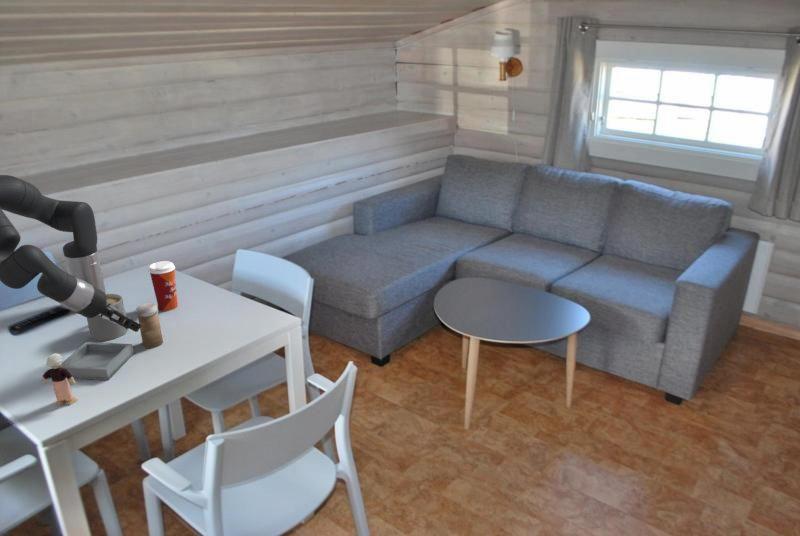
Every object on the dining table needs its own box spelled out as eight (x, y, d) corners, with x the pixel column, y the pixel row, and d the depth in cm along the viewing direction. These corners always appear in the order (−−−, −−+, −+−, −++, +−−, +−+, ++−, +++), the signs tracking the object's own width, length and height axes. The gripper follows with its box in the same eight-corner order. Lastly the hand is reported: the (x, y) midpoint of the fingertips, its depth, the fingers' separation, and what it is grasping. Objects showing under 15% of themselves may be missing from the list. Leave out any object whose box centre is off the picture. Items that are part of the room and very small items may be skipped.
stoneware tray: (59, 377, 161) (57, 367, 160) (88, 351, 173) (85, 342, 172) (108, 379, 160) (106, 369, 158) (133, 353, 171) (132, 344, 170)
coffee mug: (124, 338, 180) (118, 306, 176) (86, 342, 178) (79, 309, 174) (133, 317, 192) (127, 287, 188) (98, 321, 190) (91, 290, 186)
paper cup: (176, 312, 195) (169, 269, 190) (151, 312, 195) (143, 269, 190) (184, 301, 202) (178, 260, 197) (160, 301, 202) (153, 260, 197)
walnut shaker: (139, 347, 175) (132, 311, 170) (148, 338, 180) (141, 302, 175) (158, 348, 174) (151, 312, 170) (166, 339, 179) (160, 303, 175)
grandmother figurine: (84, 395, 153) (73, 349, 148) (79, 404, 150) (67, 357, 145) (50, 398, 152) (38, 351, 147) (44, 407, 149) (31, 360, 144)
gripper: (58, 301, 161) (108, 326, 174) (85, 319, 153) (136, 344, 166) (76, 276, 163) (124, 302, 176) (104, 293, 155) (152, 319, 168)
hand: (130, 323), depth 171 cm, fingers open, 8 cm apart
